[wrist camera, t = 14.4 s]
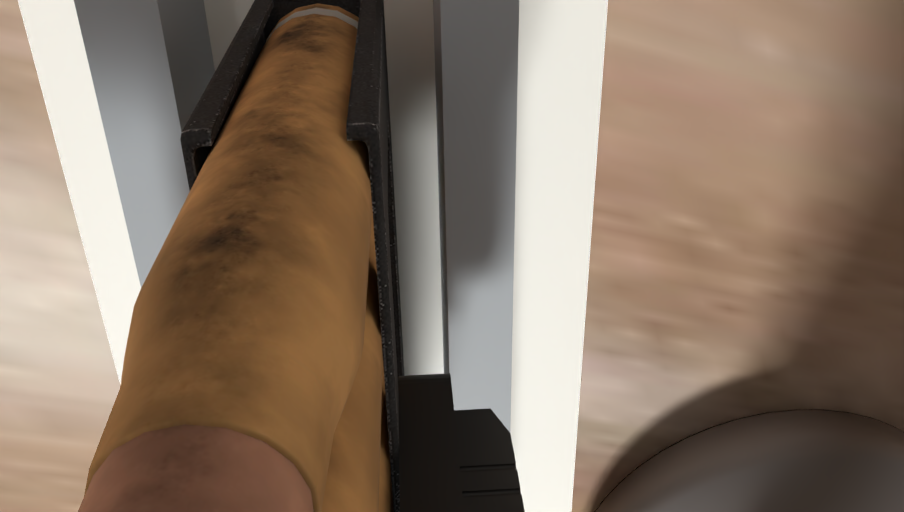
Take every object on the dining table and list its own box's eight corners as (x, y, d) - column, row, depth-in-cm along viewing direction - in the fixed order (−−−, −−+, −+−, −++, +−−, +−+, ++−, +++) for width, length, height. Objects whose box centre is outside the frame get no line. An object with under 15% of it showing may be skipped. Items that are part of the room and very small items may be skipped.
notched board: (598, -192, 13) (673, -184, 10) (557, 501, 21) (591, 648, 17) (14, -179, 13) (-128, -166, 9) (185, 524, 20) (142, 679, 17)
